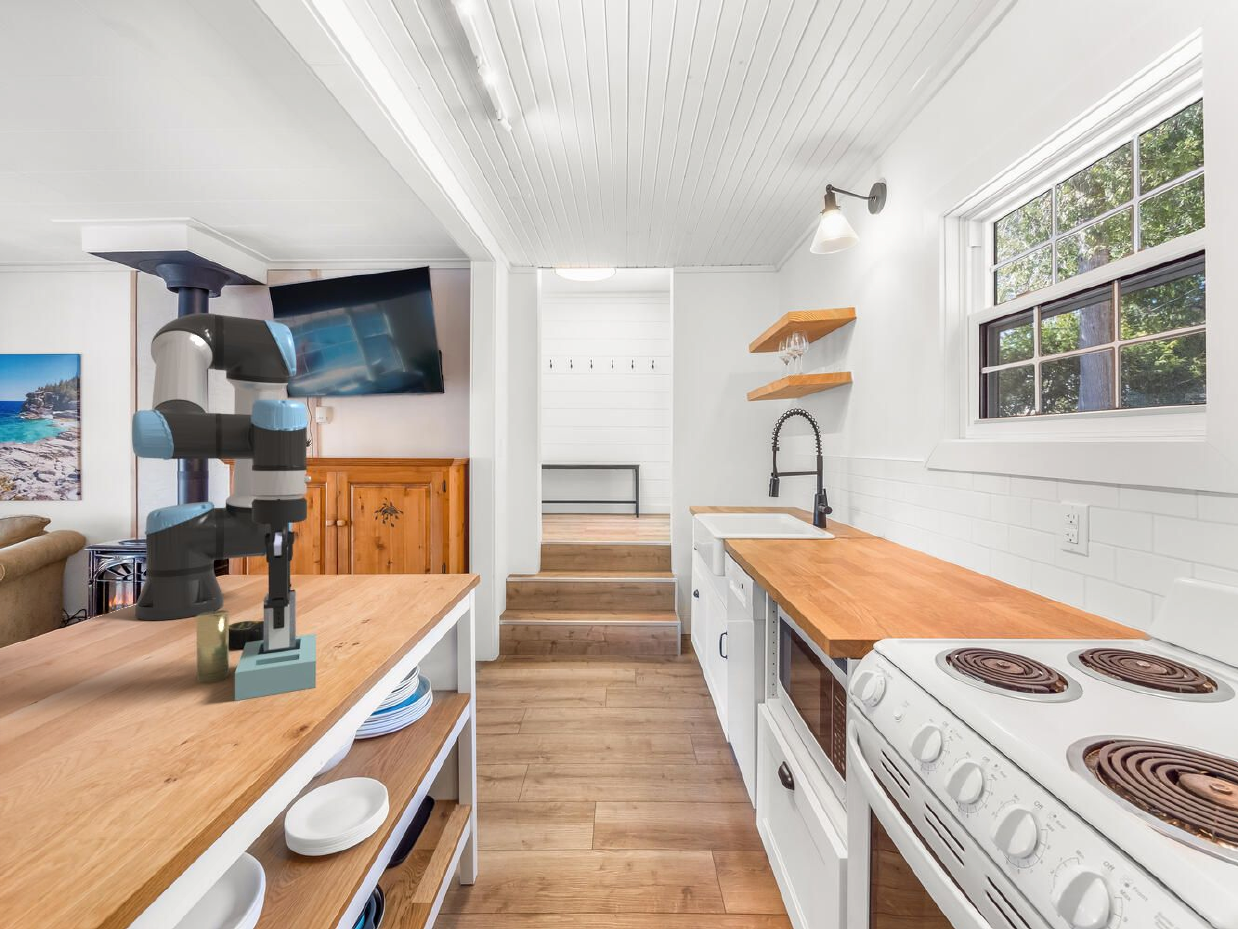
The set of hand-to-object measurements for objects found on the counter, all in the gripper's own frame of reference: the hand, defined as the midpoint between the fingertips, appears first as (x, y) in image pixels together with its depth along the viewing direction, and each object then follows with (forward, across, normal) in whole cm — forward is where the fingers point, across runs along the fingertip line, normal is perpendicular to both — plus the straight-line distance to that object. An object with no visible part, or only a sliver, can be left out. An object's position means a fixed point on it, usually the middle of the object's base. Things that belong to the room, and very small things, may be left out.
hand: (280, 641), depth 89 cm
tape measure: (+5, +17, +5) cm, 19 cm away
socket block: (+5, -2, 0) cm, 5 cm away
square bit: (+5, 0, 0) cm, 5 cm away
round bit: (+5, +2, +9) cm, 10 cm away
